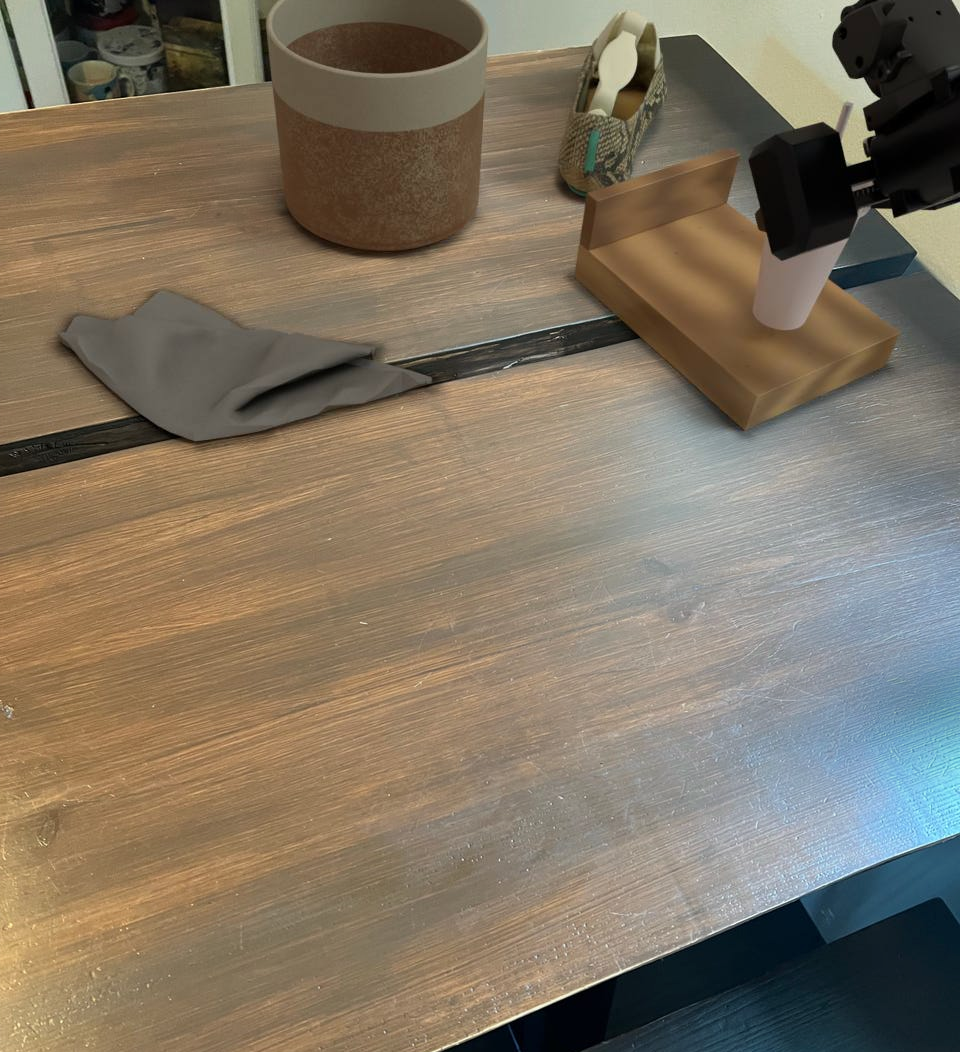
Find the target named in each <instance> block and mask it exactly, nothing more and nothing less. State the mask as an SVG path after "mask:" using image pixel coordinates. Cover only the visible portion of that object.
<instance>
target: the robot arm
mask: <svg viewBox="0 0 960 1052" xmlns="http://www.w3.org/2000/svg"><path fill="white" fill-rule="evenodd" d="M839 19H840V23H839V24H838V26H837V27H836V28H835V30H834V31H833V33H832V39H831V47H832V50H833V52H834V53H835V56H836V57H837V58H838V60H839V62H840V64H841V66H842V68H843V69H844V71H845V73H846V74H847V76H848V78H849V79H850V80H851V79H852V80H860V79H864V81H865V83H866V85H867V87H868V88H869V90H870V92H871V93H872V94H873V95H874V96H875V97H876V98H878V99H876V100H875V101H873V102H871V103H869V104H867V105H866V106H863V108H862V112H863V117H864V121H865V124H866V129H867V131H868V132H869V133H870V132H871V133H872V132H874V135H870V136H868V137H866V138H864V139H863V141H862V149H863V153H864V156H865V157H866V159H867V160H864V161H860V162H856V163H852V164H853V165H850V166H847V165H846V162H847V161H846V157H845V152H844V148H843V143H842V140H841V138H840V134H839V132H838V131H836V130H835V129H836V128H835V129H834V128H833V127H832V126H830V125H829V124H827V123H826V122H824V121H820V122H817V123H813V124H808V125H805V126H801V127H798V128H793V129H790V130H786V131H783V132H779V133H775V134H773V135H772V136H769V138H767V139H765V140H763V141H762V142H760V143H758V144H756V145H755V146H753V147H752V150H751V152H750V154H749V156H748V158H747V161H748V165H749V170H750V173H751V178H752V181H753V186H754V190H755V193H756V198H757V201H758V206H759V208H758V209H757V210H756V211H755V213H754V218H755V222H756V223H755V224H756V225H757V227H758V229H759V230H760V231H762V232H766V233H767V237H768V241H769V245H770V249H771V253H772V254H773V255H774V256H775V257H777V258H778V259H779V260H781V261H784V260H787V259H790V258H793V257H796V256H799V255H802V254H805V253H809V252H812V251H815V250H818V249H820V248H823V247H826V246H829V245H832V244H834V243H837V242H840V241H842V240H845V239H847V238H849V239H850V238H851V236H852V234H851V233H853V232H854V230H853V228H854V225H855V223H856V220H857V217H858V210H859V209H862V208H865V207H868V206H871V208H870V210H872V209H873V210H891V212H892V217H893V219H897V218H900V217H903V216H906V215H910V214H912V213H915V212H919V211H938V210H940V209H944V208H946V207H950V206H953V205H955V204H959V203H960V12H959V10H958V8H957V6H956V4H955V3H954V1H953V0H858V1H857V2H854V3H853V4H851V5H846V6H844V7H843V8H842V10H841V12H840V15H839ZM868 158H869V159H868ZM872 181H873V183H874V185H872V186H868V187H866V188H862V189H860V190H859V189H858V190H856V191H852V187H855V186H858V185H862V184H865V183H868V182H872ZM854 229H855V228H854ZM852 231H853V232H852Z"/></svg>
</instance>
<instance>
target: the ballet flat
mask: <svg viewBox="0 0 960 1052" xmlns="http://www.w3.org/2000/svg"><path fill="white" fill-rule="evenodd" d="M660 46H661V45H660V33H659V29H658V25H657V23H656V22H655V21H653V22H649V19H648V18H647V16H644V15H643V14H640V13H638V12H636V11H633V10H631V9H626V10H625V11H624V12H622V11H619V12H618V13H616V14H615V15H614V16H613V17H612V18H611V19H610V20H609V22H608V23H607V24H606V25H605V27H604V29H603V30H602V31H601V32H600V33H599V35H598V37H596V38H595V39H594V41H592V45H591V46H590V48H589V51H588V53H587V55H586V57H585V60H584V61H583V64H582V66H581V69H580V72H579V75H578V77H577V82H576V87H577V91H576V94H575V97H574V100H573V103H572V106H571V109H570V113H569V115H568V120H567V124H566V128H565V131H564V135H563V138H562V142H561V144H560V147H559V150H558V151H559V152H558V155H557V156H558V158H557V164H558V169H559V172H560V174H561V177H562V179H564V181H566V184H567V186H568V188H569V189H570V190H571V191H572V192H573V193H575V194H576V195H579V196H581V197H582V196H583V197H585V198H586V197H587V193H589V192H592V191H595V190H599V189H602V188H605V187H608V186H611V185H614V184H617V183H621V182H624V181H627V180H630V177H631V175H632V173H633V169H634V165H635V164H634V162H635V158H636V154H637V151H638V149H639V145H640V144H641V142H642V139H643V137H644V135H645V132H646V131H647V129H648V127H649V125H650V123H651V122H652V120H653V119H654V118H655V116H656V115H657V114H658V112H659V111H660V109H661V108H662V107H663V105H664V104H665V102H666V100H667V96H668V87H667V80H666V76H665V75H666V73H665V70H664V69H665V67H664V56H663V52H662V50H661V47H660Z"/></svg>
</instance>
